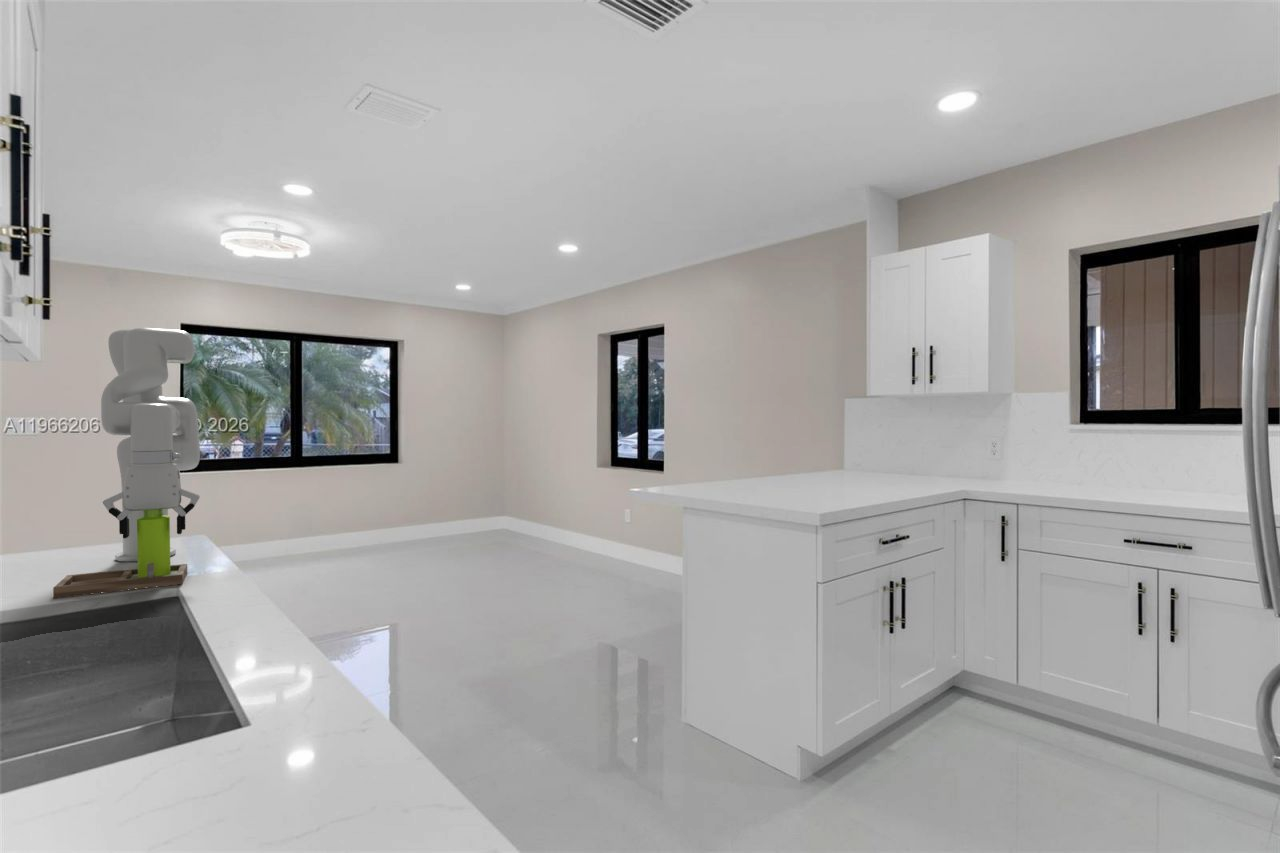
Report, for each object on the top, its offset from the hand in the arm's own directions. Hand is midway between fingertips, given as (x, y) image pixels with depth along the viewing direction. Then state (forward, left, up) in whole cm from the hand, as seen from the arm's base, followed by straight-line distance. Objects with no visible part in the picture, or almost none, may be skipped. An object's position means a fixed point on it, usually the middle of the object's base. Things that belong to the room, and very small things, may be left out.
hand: (153, 535), depth 145 cm
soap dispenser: (0, +1, -10) cm, 10 cm away
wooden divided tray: (0, -5, -10) cm, 12 cm away
